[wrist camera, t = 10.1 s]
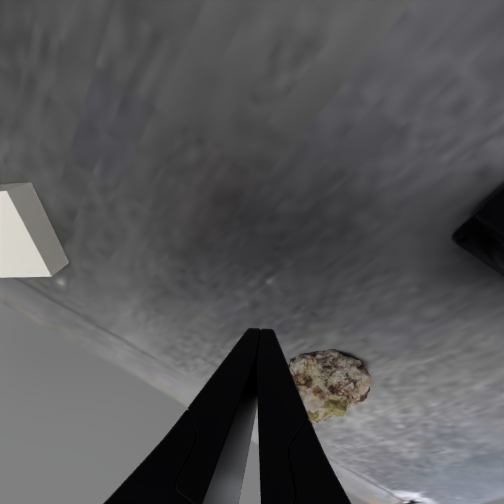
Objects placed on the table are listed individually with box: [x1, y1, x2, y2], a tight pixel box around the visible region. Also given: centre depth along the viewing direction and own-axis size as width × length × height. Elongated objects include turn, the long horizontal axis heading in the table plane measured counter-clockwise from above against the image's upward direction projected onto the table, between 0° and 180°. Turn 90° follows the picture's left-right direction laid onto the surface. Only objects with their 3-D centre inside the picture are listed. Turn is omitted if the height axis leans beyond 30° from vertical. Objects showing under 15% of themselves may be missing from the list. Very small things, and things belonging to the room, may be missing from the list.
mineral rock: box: [289, 350, 371, 423], centre depth 27 cm, size 11×4×8 cm
